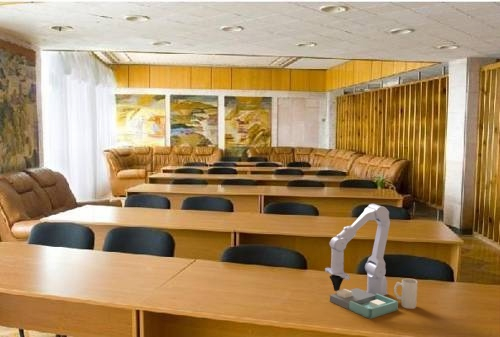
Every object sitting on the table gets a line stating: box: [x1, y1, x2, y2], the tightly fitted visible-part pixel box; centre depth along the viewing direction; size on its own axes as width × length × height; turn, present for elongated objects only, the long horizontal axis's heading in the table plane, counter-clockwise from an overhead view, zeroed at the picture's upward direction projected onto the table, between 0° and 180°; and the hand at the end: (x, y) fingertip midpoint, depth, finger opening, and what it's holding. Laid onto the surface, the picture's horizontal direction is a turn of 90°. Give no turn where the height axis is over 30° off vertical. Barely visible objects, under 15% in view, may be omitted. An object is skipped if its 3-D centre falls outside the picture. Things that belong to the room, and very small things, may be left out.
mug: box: [393, 277, 418, 310], centre depth 216 cm, size 10×7×12 cm, turn 71°
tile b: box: [336, 288, 352, 298], centre depth 221 cm, size 5×5×2 cm
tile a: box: [370, 299, 386, 307], centre depth 214 cm, size 5×5×2 cm
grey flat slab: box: [329, 287, 375, 311], centre depth 222 cm, size 18×12×3 cm, turn 124°
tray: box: [348, 293, 399, 320], centre depth 212 cm, size 18×12×4 cm
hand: (336, 290), depth 226 cm, fingers closed
